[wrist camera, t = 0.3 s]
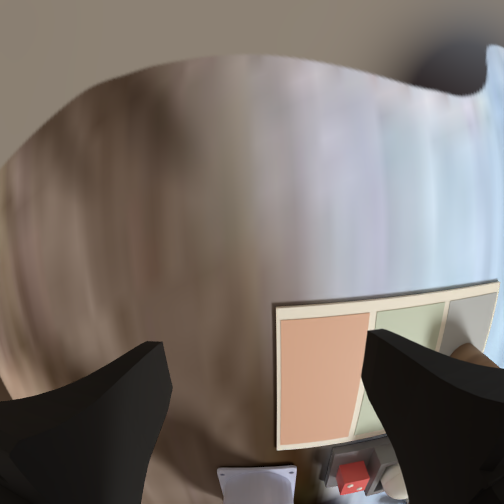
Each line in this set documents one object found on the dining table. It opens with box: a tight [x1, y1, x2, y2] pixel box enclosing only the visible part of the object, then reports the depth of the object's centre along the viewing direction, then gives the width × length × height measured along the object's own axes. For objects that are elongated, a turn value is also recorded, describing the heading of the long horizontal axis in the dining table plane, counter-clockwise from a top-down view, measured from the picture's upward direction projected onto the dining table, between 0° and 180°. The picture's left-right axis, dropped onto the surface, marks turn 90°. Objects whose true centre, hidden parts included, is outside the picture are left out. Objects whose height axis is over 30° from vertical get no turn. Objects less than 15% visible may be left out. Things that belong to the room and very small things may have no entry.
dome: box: [380, 463, 408, 500], centre depth 19 cm, size 5×5×5 cm
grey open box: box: [325, 436, 398, 496], centre depth 22 cm, size 7×11×4 cm, turn 93°
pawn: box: [450, 343, 499, 368], centre depth 18 cm, size 4×4×6 cm
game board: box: [276, 281, 500, 450], centre depth 21 cm, size 15×21×1 cm
